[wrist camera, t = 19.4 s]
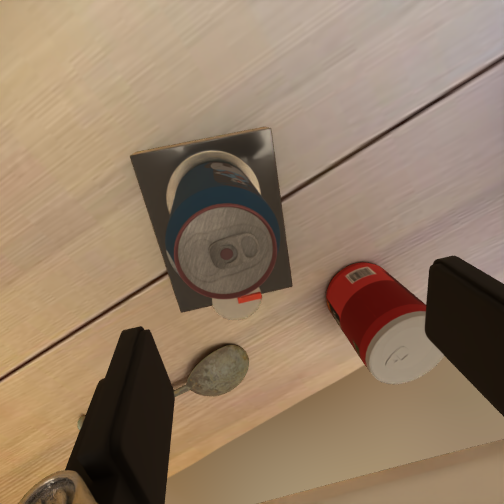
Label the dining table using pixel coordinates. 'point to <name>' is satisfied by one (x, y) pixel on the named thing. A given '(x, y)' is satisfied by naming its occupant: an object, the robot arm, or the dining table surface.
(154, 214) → the hob
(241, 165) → the burner ring
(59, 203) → the dining table surface
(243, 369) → the soupspoon
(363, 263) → the canned food
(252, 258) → the soda can
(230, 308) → the hob knob
